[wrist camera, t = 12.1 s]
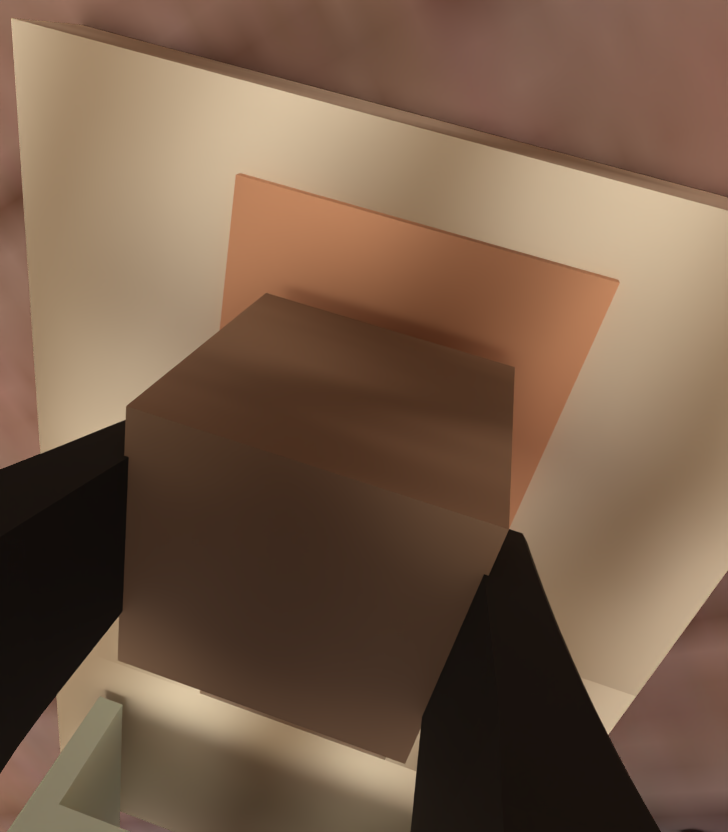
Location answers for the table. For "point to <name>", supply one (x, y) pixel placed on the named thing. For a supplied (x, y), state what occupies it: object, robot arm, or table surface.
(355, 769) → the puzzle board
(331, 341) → the walnut block
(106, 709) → the slide cover
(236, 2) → the table surface
